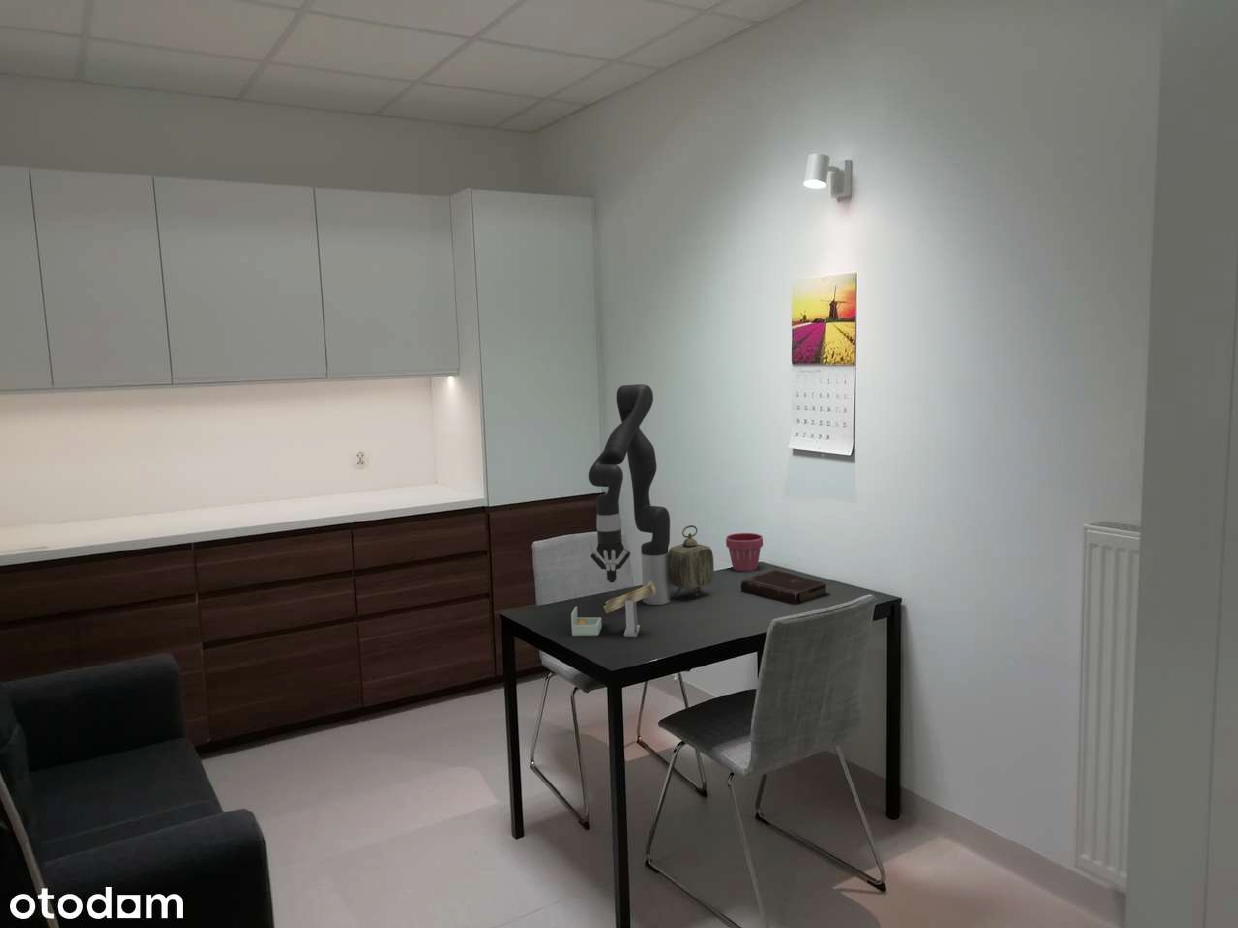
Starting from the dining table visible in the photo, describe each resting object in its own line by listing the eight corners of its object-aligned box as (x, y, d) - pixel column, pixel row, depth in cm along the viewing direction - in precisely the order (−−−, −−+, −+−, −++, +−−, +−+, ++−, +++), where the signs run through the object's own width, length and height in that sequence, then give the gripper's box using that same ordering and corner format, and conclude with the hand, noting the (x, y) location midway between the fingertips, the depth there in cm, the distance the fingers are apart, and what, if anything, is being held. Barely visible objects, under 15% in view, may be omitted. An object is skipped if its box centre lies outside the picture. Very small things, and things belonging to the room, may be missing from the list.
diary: (795, 607, 295) (794, 592, 294) (740, 593, 315) (740, 579, 314) (831, 595, 306) (831, 581, 306) (776, 582, 326) (776, 569, 325)
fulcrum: (623, 636, 270) (622, 601, 269) (627, 627, 279) (625, 593, 278) (636, 636, 270) (635, 601, 268) (639, 627, 279) (638, 592, 277)
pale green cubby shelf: (576, 628, 280) (575, 606, 280) (601, 627, 279) (600, 606, 279) (572, 636, 273) (570, 613, 272) (597, 636, 272) (596, 613, 271)
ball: (589, 622, 277) (584, 631, 278) (580, 617, 277) (575, 625, 278) (588, 625, 274) (582, 634, 275) (579, 620, 274) (574, 628, 275)
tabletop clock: (699, 589, 319) (696, 520, 316) (716, 594, 312) (714, 524, 309) (668, 597, 311) (665, 527, 308) (685, 602, 304) (683, 530, 301)
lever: (605, 614, 272) (600, 604, 272) (610, 603, 283) (606, 594, 283) (654, 594, 269) (650, 584, 269) (657, 584, 281) (653, 574, 280)
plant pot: (749, 575, 337) (748, 541, 335) (719, 570, 346) (718, 537, 345) (770, 567, 347) (770, 535, 345) (741, 562, 357) (740, 531, 355)
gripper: (631, 524, 281) (634, 577, 283) (589, 525, 282) (593, 578, 285) (628, 529, 273) (631, 584, 276) (586, 531, 275) (589, 585, 277)
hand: (612, 581), depth 280 cm, fingers closed
